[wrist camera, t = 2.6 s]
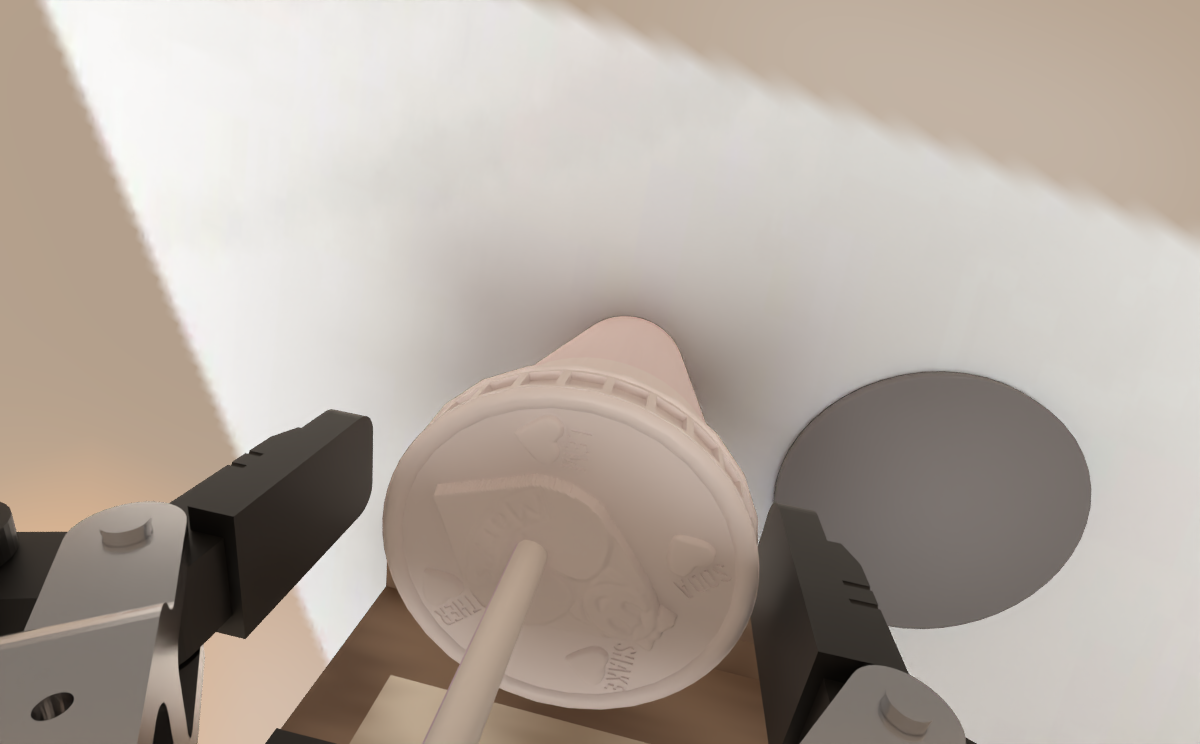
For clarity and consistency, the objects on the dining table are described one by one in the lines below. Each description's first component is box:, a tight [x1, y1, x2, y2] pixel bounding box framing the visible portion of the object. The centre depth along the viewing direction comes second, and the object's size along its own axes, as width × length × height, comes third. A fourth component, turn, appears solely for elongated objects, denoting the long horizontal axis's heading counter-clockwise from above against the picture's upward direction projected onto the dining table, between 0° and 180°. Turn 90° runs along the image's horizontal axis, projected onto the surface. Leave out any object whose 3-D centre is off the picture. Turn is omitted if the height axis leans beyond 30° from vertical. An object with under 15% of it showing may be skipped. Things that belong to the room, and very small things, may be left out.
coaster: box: [774, 372, 1091, 629], centre depth 18 cm, size 9×9×1 cm
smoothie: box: [383, 316, 759, 744], centre depth 12 cm, size 6×6×14 cm
